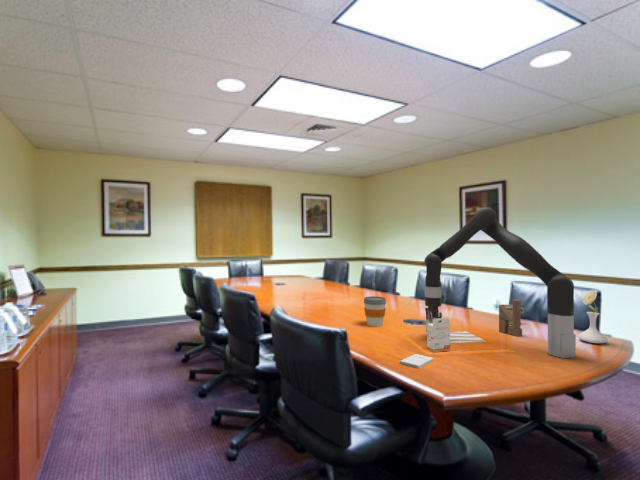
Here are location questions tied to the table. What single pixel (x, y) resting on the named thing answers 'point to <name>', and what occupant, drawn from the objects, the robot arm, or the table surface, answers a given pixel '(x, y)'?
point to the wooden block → (506, 316)
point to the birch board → (464, 337)
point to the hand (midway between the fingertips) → (433, 331)
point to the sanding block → (429, 322)
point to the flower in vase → (592, 322)
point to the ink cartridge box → (438, 335)
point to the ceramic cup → (511, 311)
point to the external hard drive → (416, 360)
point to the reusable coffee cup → (374, 310)
